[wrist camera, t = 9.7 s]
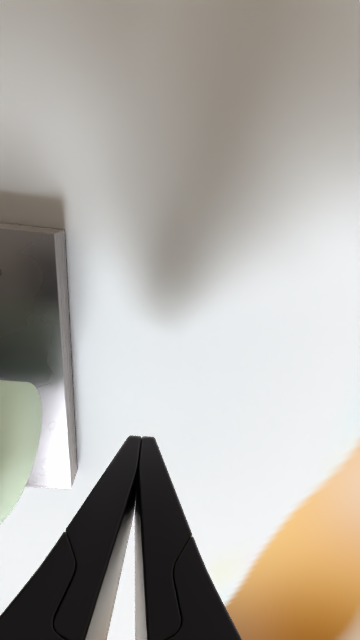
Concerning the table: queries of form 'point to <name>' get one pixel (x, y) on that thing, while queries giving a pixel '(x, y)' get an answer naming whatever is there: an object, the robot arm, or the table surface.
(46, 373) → the saddle plate
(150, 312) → the table surface
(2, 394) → the tube
